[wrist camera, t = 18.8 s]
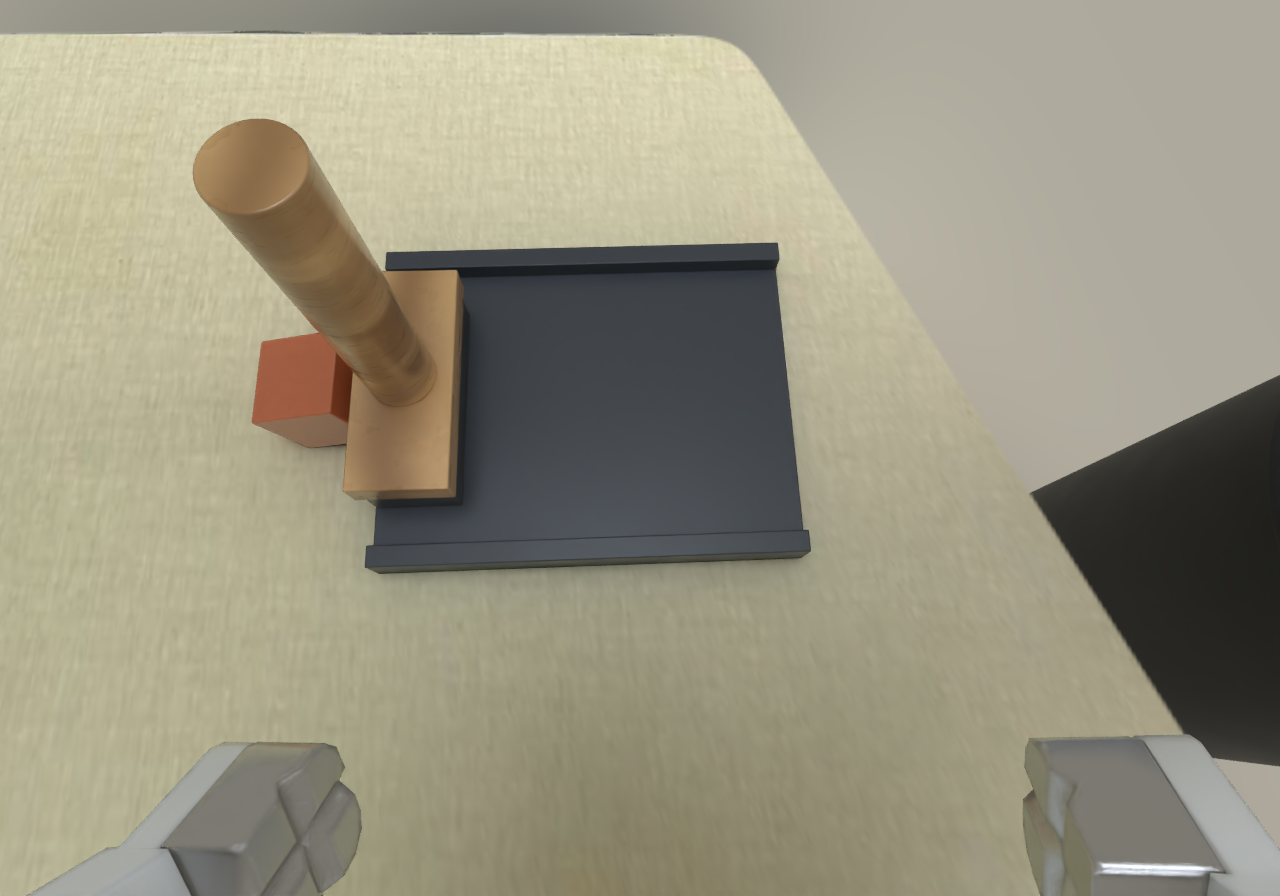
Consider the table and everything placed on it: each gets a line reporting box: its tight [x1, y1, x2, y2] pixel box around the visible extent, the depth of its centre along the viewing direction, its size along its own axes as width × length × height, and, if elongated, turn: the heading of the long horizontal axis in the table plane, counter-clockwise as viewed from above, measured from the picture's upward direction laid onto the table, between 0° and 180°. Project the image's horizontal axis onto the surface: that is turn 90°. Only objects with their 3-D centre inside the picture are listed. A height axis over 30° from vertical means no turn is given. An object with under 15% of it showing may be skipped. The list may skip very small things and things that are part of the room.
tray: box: [365, 243, 811, 574], centre depth 37 cm, size 20×16×2 cm
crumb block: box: [252, 333, 353, 448], centre depth 35 cm, size 4×4×4 cm
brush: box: [193, 119, 470, 508], centre depth 28 cm, size 4×10×18 cm, turn 2°
